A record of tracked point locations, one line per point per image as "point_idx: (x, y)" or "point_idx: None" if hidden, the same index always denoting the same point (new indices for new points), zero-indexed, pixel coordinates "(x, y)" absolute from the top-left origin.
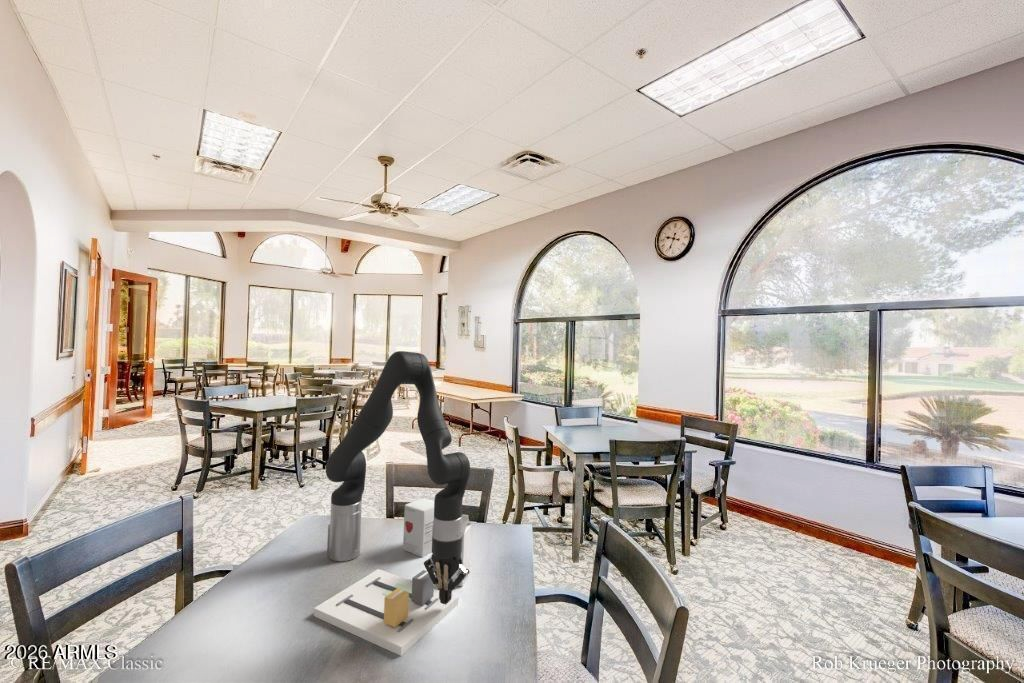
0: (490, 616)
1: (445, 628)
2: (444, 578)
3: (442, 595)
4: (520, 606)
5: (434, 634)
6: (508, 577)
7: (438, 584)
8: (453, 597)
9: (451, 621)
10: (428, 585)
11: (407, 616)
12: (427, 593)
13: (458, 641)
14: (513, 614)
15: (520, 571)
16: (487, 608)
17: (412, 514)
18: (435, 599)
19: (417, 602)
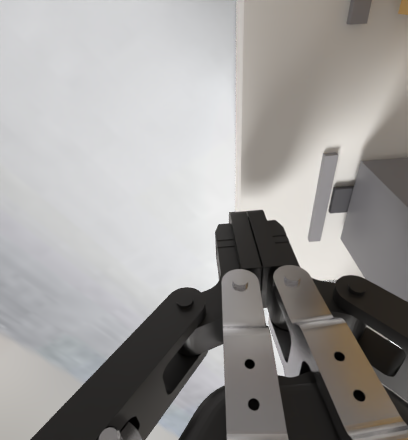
0: (85, 276)
1: (177, 127)
2: (259, 347)
3: (257, 239)
4: (53, 347)
5: (192, 54)
6: (183, 402)
7: (311, 283)
8: None
9: (188, 179)
10: (392, 259)
11: (404, 6)
12: (371, 223)
13: (51, 85)
14: (35, 316)
15: (173, 424)
16: (128, 298)
17: None
18: (320, 230)
19: (398, 160)
